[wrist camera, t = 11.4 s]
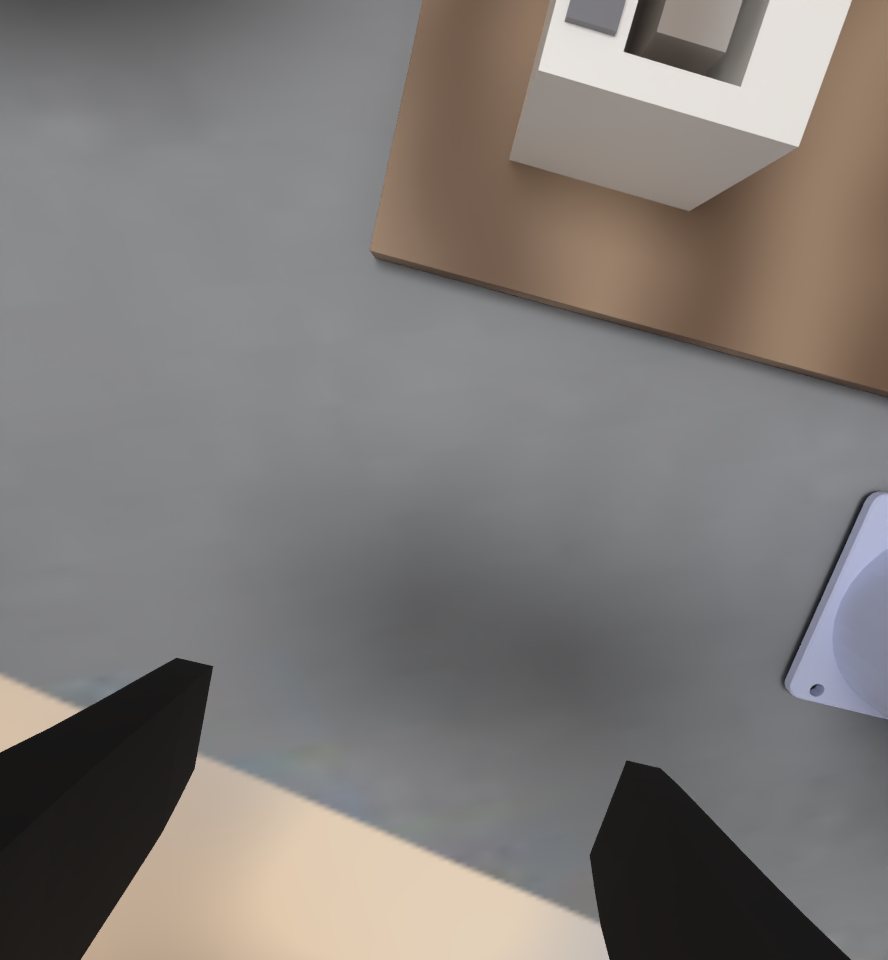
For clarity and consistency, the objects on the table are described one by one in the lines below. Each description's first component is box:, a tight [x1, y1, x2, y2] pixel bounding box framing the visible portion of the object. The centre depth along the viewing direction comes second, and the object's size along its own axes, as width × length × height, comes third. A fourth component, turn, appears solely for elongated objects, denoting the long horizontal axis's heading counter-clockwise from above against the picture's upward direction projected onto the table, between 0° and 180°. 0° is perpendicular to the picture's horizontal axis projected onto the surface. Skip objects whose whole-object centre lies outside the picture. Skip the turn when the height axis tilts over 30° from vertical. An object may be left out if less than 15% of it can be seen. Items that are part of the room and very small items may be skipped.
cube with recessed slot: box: [509, 0, 852, 211], centre depth 12 cm, size 5×5×5 cm
